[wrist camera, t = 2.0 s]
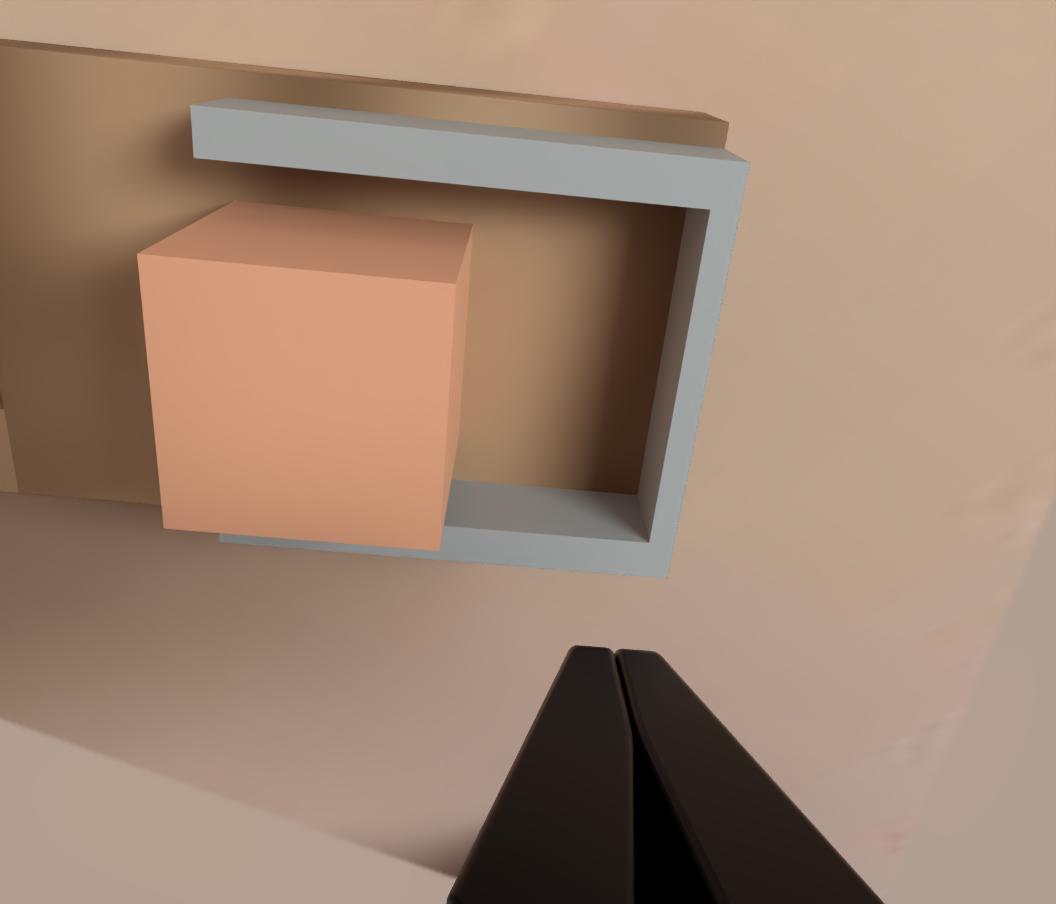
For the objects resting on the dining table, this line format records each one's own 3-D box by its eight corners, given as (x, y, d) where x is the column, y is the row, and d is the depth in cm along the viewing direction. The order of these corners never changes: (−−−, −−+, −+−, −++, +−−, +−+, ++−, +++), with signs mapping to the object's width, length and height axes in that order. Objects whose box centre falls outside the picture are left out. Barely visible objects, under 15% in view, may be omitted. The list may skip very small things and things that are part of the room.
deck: (703, 112, 18) (729, 123, 16) (637, 493, 22) (650, 545, 19) (-269, 10, 17) (-391, 5, 15) (-158, 425, 21) (-242, 471, 19)
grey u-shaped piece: (724, 148, 16) (749, 162, 14) (653, 528, 19) (666, 578, 17) (229, 97, 15) (190, 104, 14) (248, 494, 19) (219, 542, 17)
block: (473, 224, 16) (455, 284, 12) (458, 438, 18) (439, 551, 14) (234, 201, 16) (136, 253, 12) (244, 419, 18) (163, 528, 14)
